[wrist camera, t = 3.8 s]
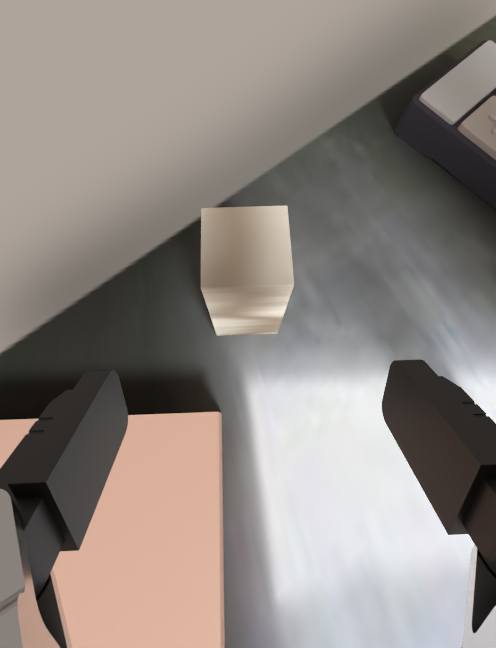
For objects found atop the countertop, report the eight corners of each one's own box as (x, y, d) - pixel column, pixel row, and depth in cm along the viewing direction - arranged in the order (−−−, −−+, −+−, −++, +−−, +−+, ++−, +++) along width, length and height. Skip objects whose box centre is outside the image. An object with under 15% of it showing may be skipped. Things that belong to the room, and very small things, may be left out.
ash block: (273, 278, 26) (287, 205, 17) (277, 333, 24) (294, 284, 16) (216, 280, 26) (201, 208, 17) (216, 335, 24) (200, 287, 16)
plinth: (221, 413, 23) (218, 411, 20) (225, 709, 18) (221, 764, 15) (-8, 421, 22) (-46, 421, 20) (-65, 725, 18) (-126, 783, 15)
